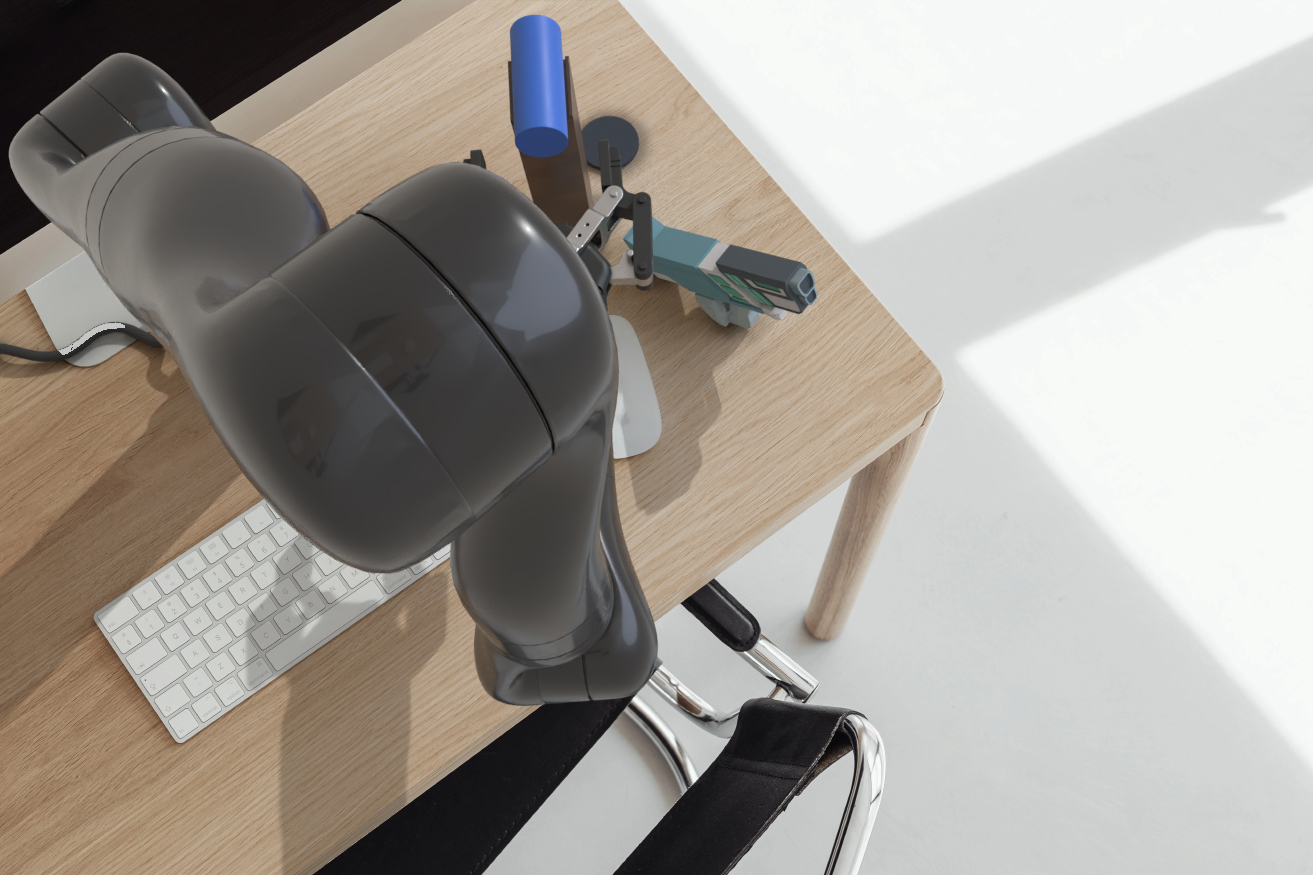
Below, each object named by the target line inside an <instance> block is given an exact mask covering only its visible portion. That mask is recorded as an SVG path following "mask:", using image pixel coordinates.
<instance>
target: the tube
mask: <svg viewBox="0 0 1313 875" xmlns="http://www.w3.org/2000/svg"><path fill="white" fill-rule="evenodd" d="M510 26H511V27H510V29H509V42H510V43H509V44H510V61H511V69H512V91H513V113H514V132H513V135H514V145H515V147H516V149H517V150H518V152H519V151H520V152H522V153H524V154H526V155H528V156H532V157H551V156H554V155H557V154H559V153H561V152H562V151H564V150H565V148H566V147H567V145H568V130H567V114H566V99H565V83H564V67H563V59H564V55H563V54H564V53H563V37H562V29H561V26H560V25H559V23H558V22H557V21H556V20H554V19H553V18H552V17H549V16H547V15H542V14H527V15H524V16H522V17H520V18H517V19H516V20H515V21H514V22H513V23H512V25H510Z"/></svg>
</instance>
